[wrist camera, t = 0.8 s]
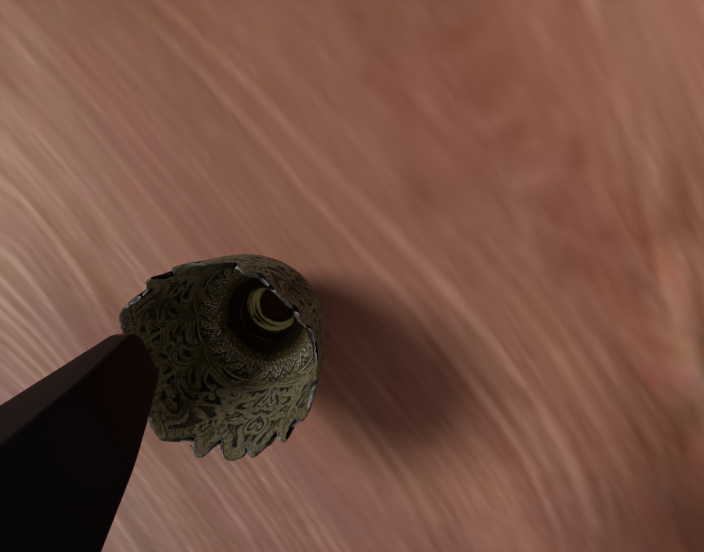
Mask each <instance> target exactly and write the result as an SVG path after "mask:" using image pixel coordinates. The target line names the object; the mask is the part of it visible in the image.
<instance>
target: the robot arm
mask: <svg viewBox="0 0 704 552" xmlns="http://www.w3.org/2000/svg"><path fill="white" fill-rule="evenodd" d="M157 385H158V370H157V367H156V365H155V363H154V361H153V359H152V357H151V355H150V353H149V351H148V349H147V347H146V345H145V343H144V341H143V339H142V338H141V337H140V336H139V335H138V334H135V333H126V334H115V335H112V336H110V337H108V338H106V339H105V340H103V341H102V342H100V343H99V344H97V345H95V346H94V347H92V348H91V349H89V350H87V351H86V352H84V353H83V354H81V355H80V356H78V357H76V358H75V359H73V360H72V361H70V362H68V363H67V364H65V365H64V366H62V367H61V368H59V369H57V370H56V371H54V372H53V373H51V374H49V375H48V376H46V377H45V378H43V379H42V380H40V381H38V382H37V383H35V384H34V385H32V386H31V387H29V388H27V389H26V390H24V391H23V392H21V393H19V394H18V395H16V396H15V397H13V398H12V399H10V400H8V401H7V402H5V403H4V404H2V405H0V552H101V551H102V548H103V545H104V543H105V540H106V538H107V535H108V533H109V530H110V528H111V525H112V523H113V520H114V517H115V515H116V512H117V510H118V507H119V505H120V502H121V500H122V497H123V494H124V492H125V489H126V487H127V484H128V482H129V479H130V476H131V474H132V471H133V468H134V465H135V462H136V459H137V456H138V453H139V449H140V446H141V442H142V439H143V435H144V431H145V428H146V424H147V421H148V417H149V413H150V410H151V406H152V403H153V399H154V395H155V392H156V388H157Z"/></svg>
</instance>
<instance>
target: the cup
mask: <svg viewBox="0 0 704 552" xmlns="http://www.w3.org/2000/svg"><path fill="white" fill-rule="evenodd" d="M172 270H173V271H170V272H167V273H165V274H162V275H158V276H154V277H152V278H150V279H148V280H147V281H146V284H147V289H146V290H145V291H143V292H142V293H141V294H139V295H137V296H136V297H135V298H133V299H132V300H131V301H130V302H129V303H128V304H127V305H126V306H125V307H124V308H123V309H122V310H121V312H120V315H119V323H120V325H121V329H122V331H123V334H126V333H135V334H138V335H139V336H140V337H141V338H142V339H143V341H144V343H145V345H146V347H147V349H148V351H149V353H150V355H151V357H152V359H153V361H154V363H155V365H156V367H157V370H158V385H157V388H156V392H155V395H154V399H153V403H152V406H151V410H150V413H149V417H148V422H149V424H150V426H151V428H152V430H153V431H154V433H155V434H156V436H157V437H158V439H160V440H162V441H169V442H180V441H191V442H192V441H194V446H193V448H192V446H191V445H190V446H191V448H192V450H193V453H194V454H195V456H196V457H199V458H200V457H204V456H205V455H206V454H207V453H209V452H210V451H211V450H212V449H213V448H214V447H216V446H217V445H220V447H221V451H222V454H223V457H224V458H225V459H226V460H229V461H235V460H237V459H240V458H243V457H244V456H245V454H246V453H247V452H248V455H250V457H251V458H254V457H256V456H257V455H258V454H259V453H261V452H262V451H263V450H264V449H265V448H266V447H267V446H269V445H271V444H272V443H273V442H274V441H275V439H276V437H277V436H278V437H280V440H281V441H282V442H285V441H286V440H287V439H288V438H289V436H290V435H291V433H292V431H293V429H294V427H295V426H296V424H297V423H299V422H302V421H303V420H304V419H305V418H306V417H307V415H308V413H309V411H310V409H311V406H312V403H313V399H314V396H315V392H316V387H317V383H318V379H319V375H320V371H321V366H322V362H323V357H324V353H325V346H326V321H325V316H324V312H323V308H322V305H321V302H320V300H319V298H318V296H317V294H316V292H315V291H314V289H313V288H312V286H311V285H310V284H309V282H308V281H307V280H306V279H305V278H304V277H303V276H302V275H301V274H300V273H299V272H297V271H296V270H295V269H293V268H292V267H290V266H289V265H287V264H285V263H283V262H281V261H278V260H276V259H273V258H269V257H265V256H260V255H231V256H224V257H218V258H213V259H209V260H204V261H198V262H190V263H185V264H182V265H179V266H176V267H173V268H172ZM269 290H271V291H272V292H274V293H275V294H276V295H277V296H278V297H279V298H280V299H281V300H282V302H283V303H284V304H285V305H286V306H287V307H288V308H290V309H292V310H293V311H292V313H291V315H290V316H289V317H288V318H286V319H284V320H273V319H271V318H269V317H268V316H267V315H266V314H265V313H264V312H263V309H262V306H261V301H262V297H263V295H264V294H265V293H266V292H267V291H269ZM192 443H193V442H192ZM220 443H221V444H222V446H221V444H220Z"/></svg>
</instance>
